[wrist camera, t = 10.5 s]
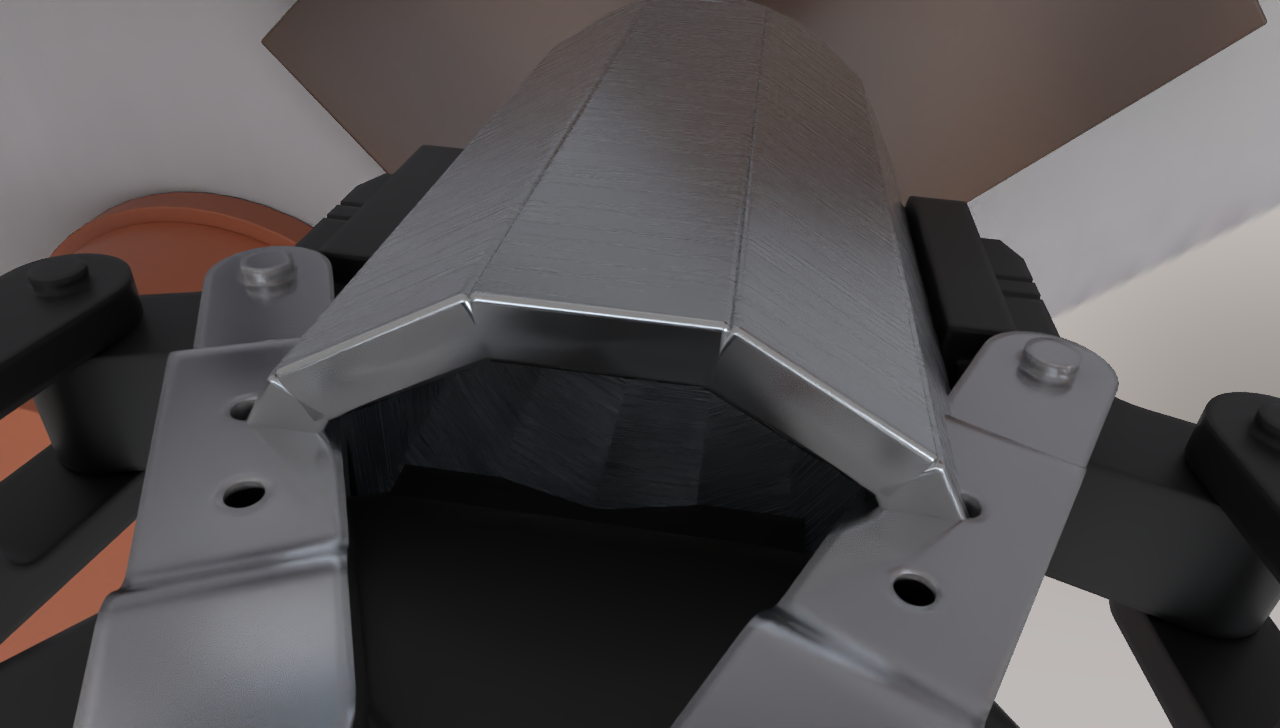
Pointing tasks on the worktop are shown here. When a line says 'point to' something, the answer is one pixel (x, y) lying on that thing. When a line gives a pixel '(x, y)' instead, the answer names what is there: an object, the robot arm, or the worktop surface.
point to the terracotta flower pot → (160, 263)
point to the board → (825, 4)
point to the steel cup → (652, 290)
